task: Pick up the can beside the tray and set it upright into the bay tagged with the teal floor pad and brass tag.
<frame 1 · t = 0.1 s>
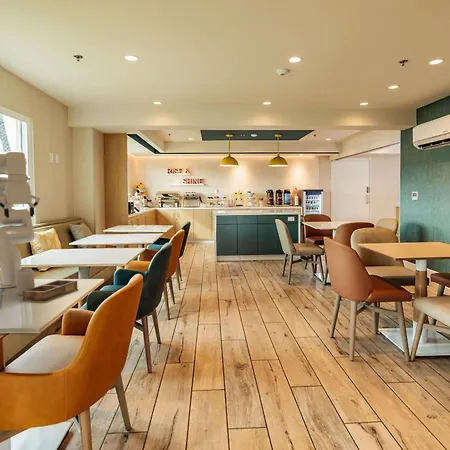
hand: (19, 217, 163), 37 cm above the table, tool pointing down, fingers open, 9 cm apart
tray: (51, 293, 170), on the table
can: (26, 294, 172), on the table
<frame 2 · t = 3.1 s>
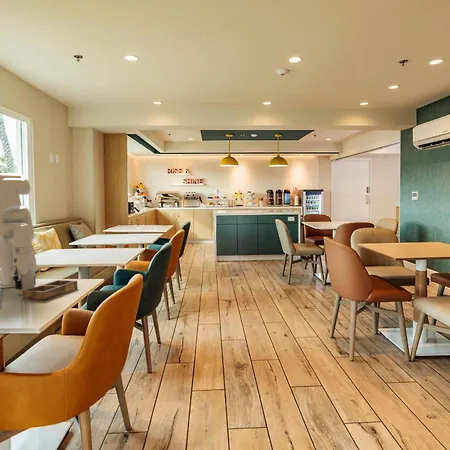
hand: (25, 286, 172), 3 cm above the table, tool pointing down, fingers closed on can, 7 cm apart
can: (26, 294, 172), on the table, touching gripper
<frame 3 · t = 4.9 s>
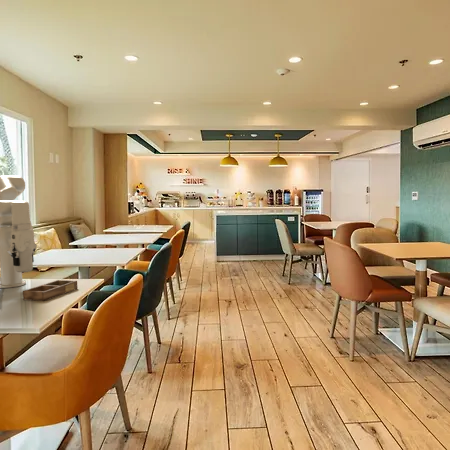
hand: (23, 263, 171), 14 cm above the table, tool pointing down, fingers closed on can, 7 cm apart
can: (24, 271, 172), point 11 cm above the table, touching gripper
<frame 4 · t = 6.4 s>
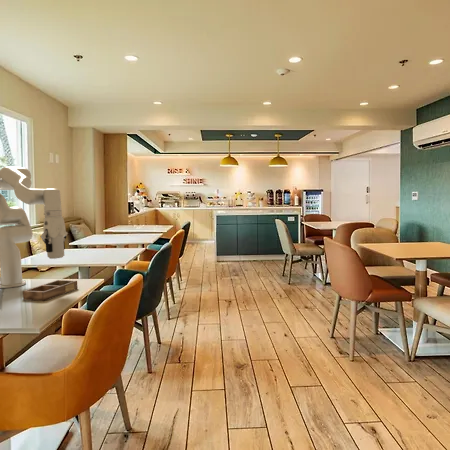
hand: (55, 250, 174), 20 cm above the table, tool pointing down, fingers closed on can, 7 cm apart
can: (56, 258, 174), point 16 cm above the table, touching gripper
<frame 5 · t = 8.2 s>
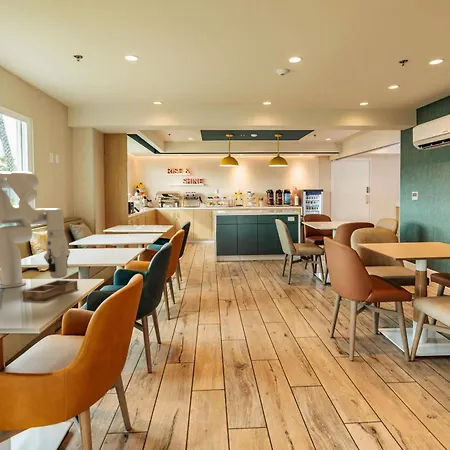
hand: (58, 269, 175), 11 cm above the table, tool pointing down, fingers closed on can, 7 cm apart
can: (59, 277, 175), point 7 cm above the table, touching gripper
when the fingers open (6 cm above the table, at t = 9.7 s): can drops 2 cm, resting on tray.
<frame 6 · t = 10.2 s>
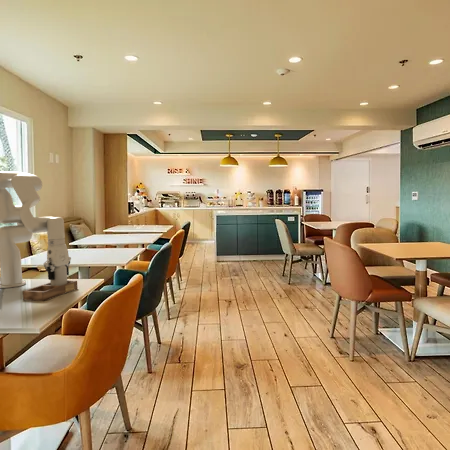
hand: (58, 277, 175), 7 cm above the table, tool pointing down, fingers open, 9 cm apart
can: (59, 288, 175), point 1 cm above the table, touching tray
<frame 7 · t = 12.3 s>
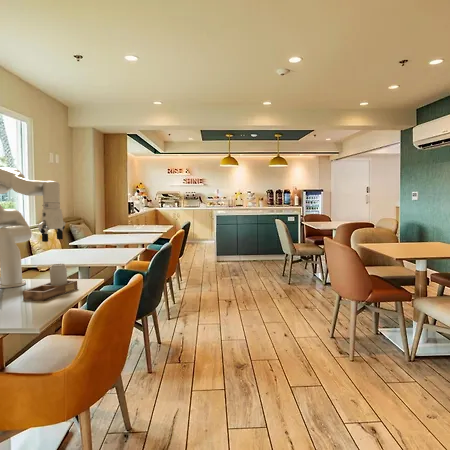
hand: (52, 240, 179), 24 cm above the table, tool pointing down, fingers open, 9 cm apart
nothing on the table moved.
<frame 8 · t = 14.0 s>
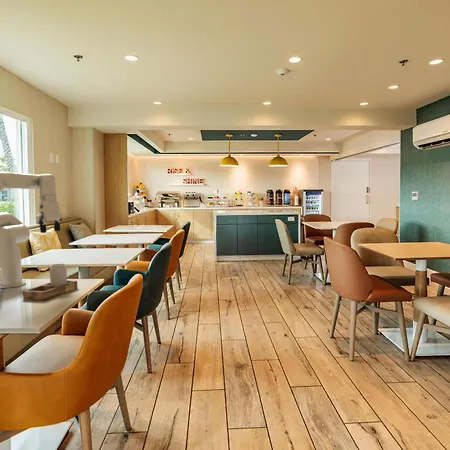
hand: (50, 231, 185), 28 cm above the table, tool pointing down, fingers open, 9 cm apart
nothing on the table moved.
at the end: can 0.2 cm from the target spot on the tray, point 1.0 cm above the tray's base; can tilted 0°; the gripper is holding nothing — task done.
